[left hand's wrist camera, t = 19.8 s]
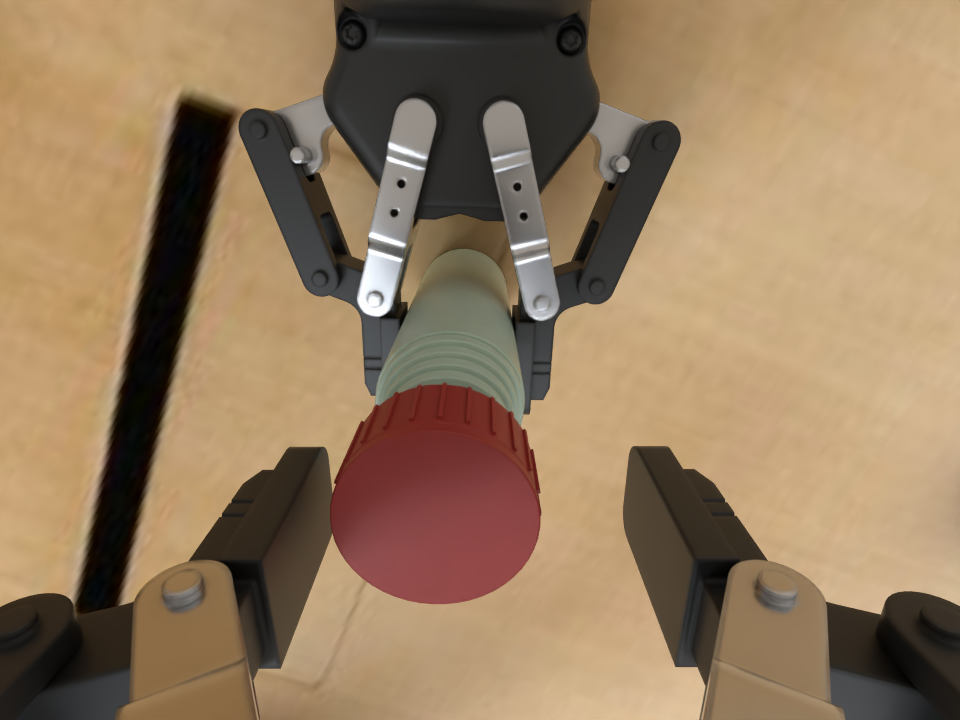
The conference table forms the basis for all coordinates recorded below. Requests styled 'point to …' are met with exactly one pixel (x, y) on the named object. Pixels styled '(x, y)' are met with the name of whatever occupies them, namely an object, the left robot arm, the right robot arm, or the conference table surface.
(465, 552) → the cap
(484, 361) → the bottle
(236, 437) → the conference table surface
